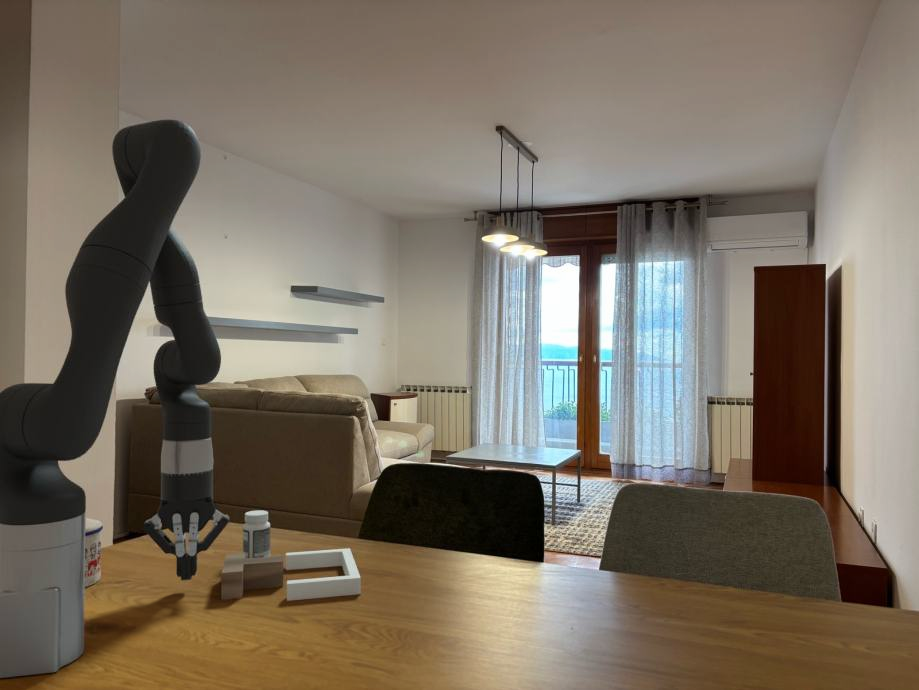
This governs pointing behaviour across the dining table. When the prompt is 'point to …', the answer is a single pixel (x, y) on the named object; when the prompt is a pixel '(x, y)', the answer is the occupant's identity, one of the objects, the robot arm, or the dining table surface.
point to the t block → (249, 574)
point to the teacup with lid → (92, 551)
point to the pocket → (323, 586)
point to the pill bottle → (256, 534)
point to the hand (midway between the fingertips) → (187, 578)
